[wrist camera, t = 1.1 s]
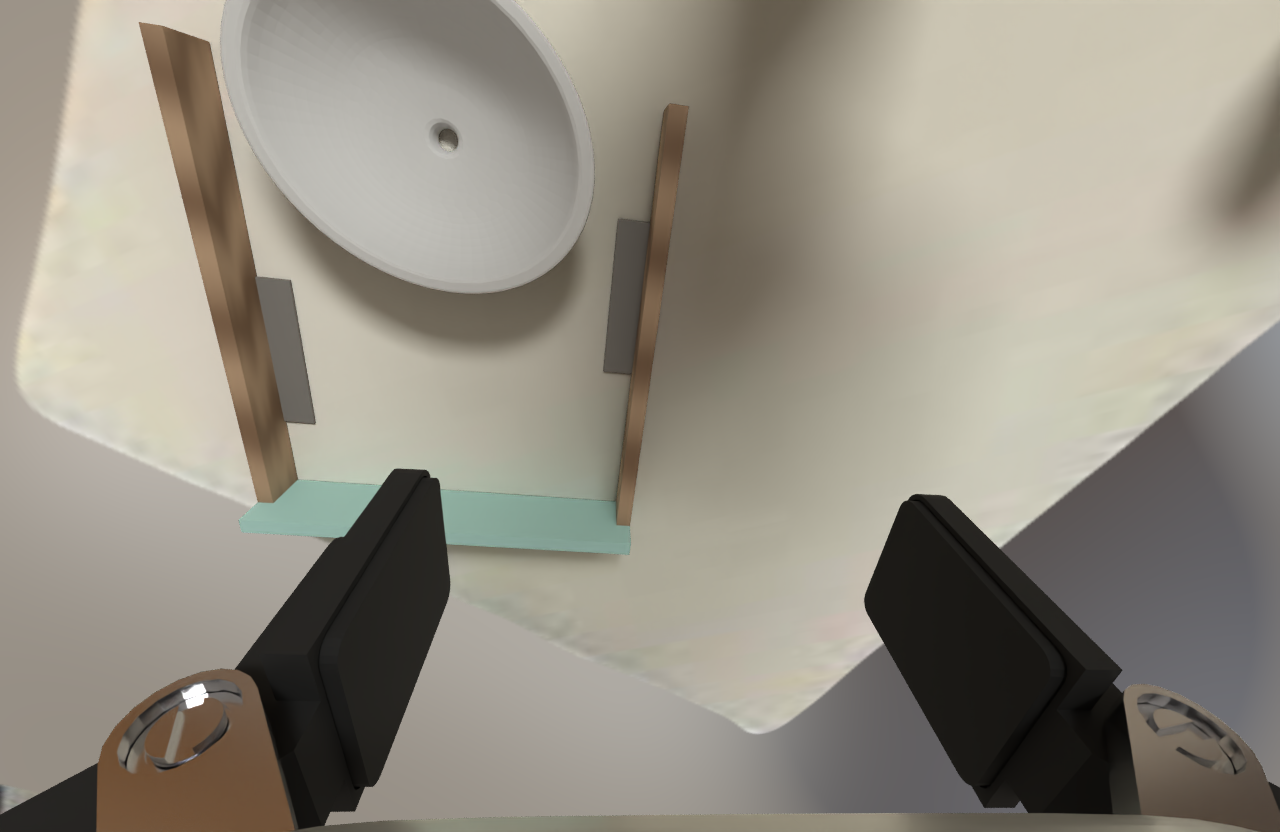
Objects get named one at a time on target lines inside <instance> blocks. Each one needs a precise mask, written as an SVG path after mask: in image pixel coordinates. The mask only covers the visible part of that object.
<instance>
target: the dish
mask: <svg viewBox="0 0 1280 832" xmlns="http://www.w3.org/2000/svg"><path fill="white" fill-rule="evenodd" d="M220 46H221V61H222V67H223V73H224V79H225V83H226V87H227V91H228V95H229V98H230V101H231V104H232V107H233V110H234V112H235V115H236V118H237V120H238V122H239V124H240V127H241V129H242V131H243V133H244V135H245V137H246V139H247V141H248V143H249V145H250V146H251V148H252V150H253V152H254V154H255V155H256V157H257V158H258V160H259V161H260V163H261V165H262V166H263V168H264V169H265V171H266V172H267V173H268V175H269V176H270V178H271V179H272V180H273V182H274V183H275V184H276V186H277V187H278V188H279V189H280V190H281V192H282V193H283V194H284V195H285V196H286V198H287V199H288V200H289V201H290V202H291V203H292V204H293V205H294V206H295V207H296V208H297V209H298V210H299V212H300V213H301V214H302V215H303V216H304V217H305V218H307V219H308V220H309V221H310V222H311V223H312V224H313V225H314V226H315V227H316V228H317V229H319V230H320V231H321V232H322V233H324V234H325V235H326V236H327V237H329V238H330V239H331V240H332V241H334V242H335V243H336V244H338V245H339V246H341V247H342V248H343V249H345V250H346V251H348V252H349V253H351V254H352V255H354V256H356V257H357V258H359V259H360V260H362V261H364V262H365V263H367V264H369V265H371V266H373V267H375V268H377V269H379V270H381V271H383V272H385V273H387V274H390V275H392V276H394V277H396V278H399V279H402V280H404V281H407V282H410V283H413V284H416V285H420V286H423V287H427V288H430V289H436V290H441V291H446V292H454V293H467V294H481V293H493V292H499V291H505V290H509V289H512V288H516V287H519V286H522V285H524V284H527V283H529V282H532V281H533V280H535V279H537V278H539V277H541V276H543V275H544V274H545V273H547V272H548V271H550V270H551V269H553V268H554V267H555V266H556V265H557V264H558V263H559V262H560V261H561V260H563V258H564V257H565V256H566V255H567V254H568V253H569V251H570V250H571V249H572V247H573V246H574V244H575V243H576V241H577V240H578V238H579V236H580V234H581V232H582V230H583V228H584V226H585V224H586V221H587V218H588V215H589V212H590V208H591V203H592V199H593V191H594V183H595V164H594V152H593V145H592V139H591V134H590V129H589V126H588V122H587V118H586V114H585V112H584V109H583V106H582V103H581V100H580V98H579V95H578V93H577V91H576V88H575V86H574V84H573V82H572V80H571V77H570V76H569V74H568V72H567V70H566V68H565V66H564V65H563V63H562V61H561V59H560V58H559V56H558V54H557V53H556V51H555V50H554V48H553V47H552V45H551V44H550V42H549V41H548V39H547V38H546V37H545V35H544V34H543V33H542V31H541V30H540V29H539V27H538V26H537V25H536V23H535V22H534V21H533V20H532V19H531V18H530V17H529V15H528V14H527V13H526V12H525V11H524V10H523V9H522V7H521V6H520V5H519V4H518V3H517V2H516V1H515V0H226V2H225V5H224V10H223V16H222V21H221V35H220ZM444 129H451V130H452V131H454V132H455V134H456V135H457V138H458V146H457V148H456V149H455V150H453V151H446V150H445V149H443V148H442V147H441V145H440V143H439V134H440V132H441V131H442V130H444Z"/></svg>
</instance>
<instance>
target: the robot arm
mask: <svg viewBox="0 0 1280 832" xmlns="http://www.w3.org/2000/svg"><path fill="white" fill-rule="evenodd" d="M449 592H450V575H449V565H448V556H447V547H446V538H445V528H444V519H443V510H442V500H441V491H440V483H439V480H438V479H437V478H430V474H429V472H428V471H427V470H416V469H394V470H393V471H392V472H391V473H390V475H389V476H388V478H387V479H386V480H385V482H384V483H383V484H382V486H381V487H380V488H379V490H378V491H377V493H376V494H375V495H374V497H373V498H372V499H371V501H370V502H369V503H368V505H367V506H366V508H365V509H364V510H363V512H362V513H361V514H360V516H359V517H358V519H357V520H356V521H355V523H354V524H353V525H352V527H351V528H350V529H349V531H348V532H347V534H346V535H345V536H344V537H338V538H336V539H334V540H333V541H332V542H331V543H330V544H329V545H328V547H327V548H326V549H325V551H324V552H323V553H322V555H321V556H320V557H319V559H318V560H317V561H316V562H315V564H314V565H313V567H312V568H311V569H310V570H309V572H308V573H307V575H306V576H305V577H304V579H303V580H302V581H301V582H300V584H299V585H298V586H297V588H296V589H295V590H294V592H293V593H292V594H291V596H290V597H289V598H288V599H287V601H286V602H285V604H284V605H283V606H282V608H281V609H280V610H279V611H278V613H277V614H276V615H275V617H274V618H273V619H272V621H271V622H270V623H269V625H268V626H267V627H266V629H265V630H264V631H263V633H262V634H261V635H260V637H259V638H258V639H257V641H256V642H255V643H254V644H253V646H252V647H251V649H250V650H249V651H248V652H247V654H246V655H245V656H244V658H243V659H242V661H241V662H240V663H239V664H238V666H237V667H236V668H235V670H232V669H215V670H209V671H203V672H199V673H196V674H193V675H190V676H187V677H185V678H182V679H179V680H177V681H175V682H173V683H171V684H169V685H167V686H166V687H164V688H162V689H160V690H158V691H156V692H155V693H153V694H152V695H150V696H149V697H148V698H146V699H145V700H144V701H142V702H141V703H139V704H138V705H137V706H136V707H134V708H133V709H132V710H131V711H130V712H129V713H128V714H127V715H126V716H125V717H124V718H123V719H122V720H121V721H120V722H119V723H118V724H117V725H116V726H115V727H114V729H113V730H112V732H111V733H110V735H109V737H108V738H107V740H106V741H105V743H104V745H103V746H102V749H101V754H100V757H99V761H98V763H97V764H95V765H93V766H91V767H89V768H87V769H85V770H84V771H82V772H80V773H78V774H76V775H74V776H72V777H70V778H68V779H67V780H65V781H63V782H61V783H59V784H57V785H55V786H53V787H52V788H50V789H48V790H46V791H44V792H42V793H40V794H38V795H36V796H35V797H33V798H31V799H29V800H27V801H25V802H23V803H21V804H20V805H18V806H16V807H14V808H12V809H10V810H8V811H6V812H4V813H3V814H1V815H0V832H1280V788H1279V787H1278V786H1276V785H1274V784H1272V783H1270V782H1268V780H1267V778H1266V775H1265V773H1264V770H1263V768H1262V765H1261V764H1260V762H1259V760H1258V759H1257V757H1256V755H1255V753H1254V752H1253V750H1252V749H1251V748H1250V747H1249V746H1248V745H1247V744H1246V743H1245V742H1244V741H1243V739H1242V738H1241V737H1240V736H1239V735H1238V734H1237V733H1236V732H1235V731H1233V730H1232V729H1231V728H1230V727H1229V726H1227V725H1226V724H1225V723H1224V722H1223V721H1222V720H1220V719H1219V718H1218V717H1216V716H1215V715H1213V714H1212V713H1210V712H1209V711H1207V710H1206V709H1204V708H1203V707H1201V706H1200V705H1198V704H1196V703H1194V702H1192V701H1191V700H1189V699H1187V698H1185V697H1183V696H1181V695H1179V694H1177V693H1174V692H1172V691H1169V690H1166V689H1164V688H1161V687H1157V686H1152V685H1148V684H1134V685H1131V686H1129V687H1128V688H1127V689H1125V690H1124V691H1123V693H1121V692H1120V690H1119V689H1118V688H1117V687H1116V686H1115V685H1114V684H1113V682H1114V680H1115V679H1116V678H1117V677H1118V675H1119V674H1120V673H1121V671H1122V669H1121V668H1120V667H1119V666H1118V665H1117V664H1116V663H1115V662H1114V661H1113V660H1112V659H1111V658H1110V657H1109V656H1108V655H1107V654H1105V652H1104V651H1102V649H1101V648H1100V647H1098V645H1097V644H1095V642H1093V641H1092V640H1091V639H1090V638H1089V637H1088V636H1087V635H1086V634H1085V633H1084V632H1083V631H1082V630H1081V629H1080V628H1079V627H1078V626H1077V625H1076V624H1075V623H1074V622H1073V621H1072V620H1071V619H1070V618H1069V617H1068V616H1067V615H1066V614H1065V613H1064V612H1063V611H1062V610H1061V609H1060V608H1059V607H1058V606H1057V605H1056V604H1055V603H1054V602H1053V601H1052V600H1051V599H1050V598H1049V597H1048V596H1047V595H1046V594H1045V593H1044V592H1043V591H1042V590H1041V589H1040V588H1039V587H1038V586H1037V585H1036V584H1035V583H1034V582H1033V581H1032V580H1031V579H1030V578H1029V577H1028V576H1026V574H1025V573H1024V572H1023V571H1022V570H1021V569H1020V568H1018V567H1017V565H1016V564H1015V563H1013V562H1012V561H1011V560H1010V559H1009V558H1008V557H1007V556H1006V555H1005V554H1004V553H1003V552H1002V551H1001V550H1000V549H999V548H998V547H997V546H996V545H995V544H994V543H993V542H992V541H991V540H990V539H989V538H988V537H987V536H986V535H985V534H984V533H983V532H982V531H981V530H980V529H979V528H978V527H977V526H976V525H975V524H974V523H973V522H972V521H971V520H970V519H969V518H968V517H967V516H966V515H965V514H964V513H963V512H962V511H961V510H960V509H959V508H958V507H957V506H956V505H955V504H954V503H953V502H952V501H951V500H950V499H948V498H947V497H946V496H942V495H924V494H915V495H912V496H911V497H910V498H909V499H908V501H904V502H903V503H902V504H901V506H900V508H899V511H898V513H897V516H896V518H895V521H894V523H893V526H892V528H891V531H890V533H889V536H888V538H887V541H886V543H885V546H884V548H883V551H882V553H881V556H880V558H879V561H878V563H877V566H876V568H875V571H874V573H873V576H872V578H871V581H870V583H869V586H868V588H867V591H866V594H865V598H864V603H865V609H866V612H867V614H868V616H869V617H870V619H871V621H872V623H873V625H874V626H875V628H876V630H877V632H878V633H879V635H880V637H881V639H882V640H883V642H884V644H885V646H886V647H887V649H888V651H889V653H890V654H891V656H892V658H893V660H894V661H895V663H896V665H897V667H898V668H899V670H900V672H901V674H902V676H903V677H904V679H905V681H906V683H907V684H908V686H909V688H910V690H911V691H912V693H913V695H914V697H915V698H916V700H917V702H918V704H919V705H920V707H921V709H922V711H923V712H924V714H925V716H926V718H927V720H928V721H929V723H930V725H931V727H932V728H933V730H934V732H935V733H936V735H937V737H938V739H939V741H940V742H941V744H942V746H943V747H944V749H945V751H946V753H947V755H948V756H949V758H950V760H951V762H952V763H953V765H954V767H955V768H956V771H957V772H958V774H959V775H960V777H961V778H962V779H963V780H964V781H965V782H966V783H967V784H969V785H971V786H972V787H973V789H974V791H975V792H976V794H977V796H978V798H979V800H980V801H981V803H982V804H983V807H984V808H1014V807H1015V806H1016V805H1017V804H1018V802H1019V801H1021V802H1022V804H1023V806H1024V807H1025V809H1026V810H1027V812H1028V813H870V814H869V813H864V814H862V813H860V814H858V813H856V814H714V815H712V814H710V815H628V816H627V815H623V816H550V817H549V816H541V817H493V818H492V817H489V818H458V819H426V820H395V821H377V822H366V823H365V822H364V823H353V824H341V825H329V826H324V825H325V823H326V820H327V818H328V816H329V814H330V812H340V811H341V812H342V811H344V812H346V811H349V812H350V811H355V810H356V807H357V805H358V803H359V800H360V797H361V795H362V793H363V790H364V788H365V787H373V786H374V785H375V784H376V783H377V781H378V780H379V777H380V775H381V773H382V770H383V768H384V765H385V762H386V760H387V757H388V754H389V752H390V749H391V747H392V744H393V742H394V739H395V736H396V734H397V731H398V729H399V726H400V723H401V721H402V718H403V715H404V713H405V710H406V708H407V705H408V703H409V700H410V697H411V695H412V692H413V690H414V687H415V684H416V682H417V679H418V677H419V674H420V671H421V669H422V666H423V664H424V661H425V658H426V656H427V653H428V650H429V648H430V645H431V643H432V640H433V638H434V635H435V632H436V630H437V627H438V625H439V622H440V619H441V617H442V614H443V611H444V609H445V606H446V604H447V600H448V597H449Z"/></svg>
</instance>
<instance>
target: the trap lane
mask: <svg viewBox="0 0 1280 832" xmlns="http://www.w3.org/2000/svg"><path fill="white" fill-rule="evenodd" d="M139 25H140V29H141V33H142V38H143V42H144V46H145V50H146V54H147V58H148V62H149V66H150V70H151V74H152V78H153V82H154V86H155V90H156V94H157V98H158V102H159V106H160V110H161V114H162V118H163V122H164V126H165V130H166V134H167V138H168V142H169V146H170V150H171V154H172V158H173V162H174V166H175V170H176V174H177V178H178V182H179V186H180V190H181V195H182V199H183V203H184V207H185V211H186V215H187V219H188V223H189V227H190V231H191V235H192V239H193V243H194V247H195V251H196V255H197V259H198V263H199V267H200V271H201V275H202V279H203V283H204V287H205V291H206V295H207V299H208V303H209V307H210V311H211V315H212V319H213V323H214V327H215V331H216V335H217V339H218V343H219V347H220V352H221V356H222V360H223V364H224V368H225V372H226V376H227V380H228V384H229V388H230V392H231V396H232V400H233V404H234V408H235V412H236V416H237V420H238V424H239V428H240V432H241V436H242V440H243V444H244V448H245V452H246V456H247V460H248V464H249V468H250V472H251V476H252V480H253V484H254V488H255V492H256V496H257V500H258V503H257V504H256V505H254V506H253V507H252V508H251V509H250V510H249V511H248V512H247V513H246V514H245V515H244V516H242V517H241V518H240V519H239V524H240V528H241V531H242V532H246V533H263V534H280V535H297V536H314V537H332V538H338V537H344V536H345V535H346V534H347V532H348V531H349V529H350V528H351V527H352V525H353V524H354V523H355V521H356V520H357V519H358V517H359V516H360V514H361V513H362V512H363V510H364V509H365V508H366V506H367V505H368V503H369V502H370V501H371V499H372V498H373V497H374V495H375V494H376V493H377V491H378V490H379V488H380V487H381V486H382V485H368V484H353V483H339V482H324V481H310V480H298V478H297V473H296V468H295V463H294V459H293V454H292V449H291V444H290V439H289V434H288V429H287V424H286V421H289V422H301V423H316V422H315V416H314V410H313V405H312V399H311V393H310V388H309V382H308V376H307V370H306V365H305V359H304V353H303V347H302V342H301V336H300V330H299V324H298V319H297V313H296V307H295V301H294V296H293V290H292V284H291V280H284V279H275V278H266V277H257V276H256V271H255V266H254V261H253V256H252V251H251V246H250V241H249V236H248V231H247V226H246V221H245V216H244V211H243V207H242V202H241V197H240V192H239V187H238V182H237V177H236V172H235V167H234V162H233V157H232V152H231V147H230V142H229V137H228V132H227V127H226V123H225V118H224V113H223V108H222V103H221V98H220V93H219V88H218V83H217V78H216V73H215V68H214V63H213V58H212V53H211V48H210V43H209V42H208V41H205V40H202V39H199V38H196V37H193V36H190V35H187V34H185V33H182V32H179V31H176V30H173V29H170V28H167V27H164V26H160V25H154V24H147V23H140V22H139ZM688 108H689V106H683V105H676V104H669V105H668V106H667V108H666V109H665V110H664V114H663V123H662V131H661V139H660V147H659V155H658V163H657V171H656V180H655V188H654V196H653V204H652V212H651V220H650V223H648V222H641V221H633V220H625V219H618V225H617V236H616V246H615V257H614V267H613V277H612V288H611V298H610V308H609V319H608V329H607V339H606V350H605V360H604V370H603V371H606V372H616V373H627V374H632V375H631V383H630V392H629V400H628V408H627V416H626V424H625V432H624V440H623V449H622V457H621V465H620V473H619V481H618V489H617V498H616V502H615V501H600V500H586V499H571V498H557V497H542V496H528V495H513V494H498V493H484V492H469V491H455V490H440V491H441V500H442V510H443V519H444V528H445V538H446V544H452V545H470V546H487V547H504V548H522V549H539V550H556V551H573V552H591V553H608V554H625V555H629V553H630V546H631V538H630V521H631V514H632V507H633V500H634V492H635V485H636V478H637V471H638V464H639V457H640V450H641V443H642V436H643V428H644V421H645V414H646V407H647V400H648V393H649V386H650V379H651V371H652V364H653V357H654V350H655V343H656V336H657V329H658V322H659V315H660V307H661V300H662V293H663V286H664V279H665V272H666V265H667V258H668V250H669V243H670V236H671V229H672V222H673V215H674V208H675V201H676V194H677V186H678V179H679V172H680V165H681V158H682V151H683V144H684V137H685V129H686V122H687V115H688Z"/></svg>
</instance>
